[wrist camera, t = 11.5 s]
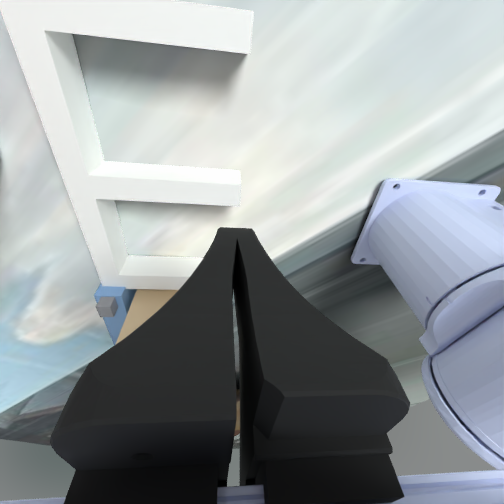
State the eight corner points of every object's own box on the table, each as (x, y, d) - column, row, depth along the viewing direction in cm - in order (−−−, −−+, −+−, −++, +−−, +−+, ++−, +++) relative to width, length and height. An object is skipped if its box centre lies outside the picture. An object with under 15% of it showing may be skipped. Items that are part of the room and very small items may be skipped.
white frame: (250, 16, 13) (257, 4, 10) (230, 324, 29) (230, 362, 25) (21, -14, 12) (-67, -40, 8) (129, 323, 28) (114, 364, 24)
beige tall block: (187, 276, 24) (168, 371, 17) (189, 305, 26) (174, 398, 19) (142, 275, 24) (104, 372, 16) (149, 304, 26) (118, 399, 19)
